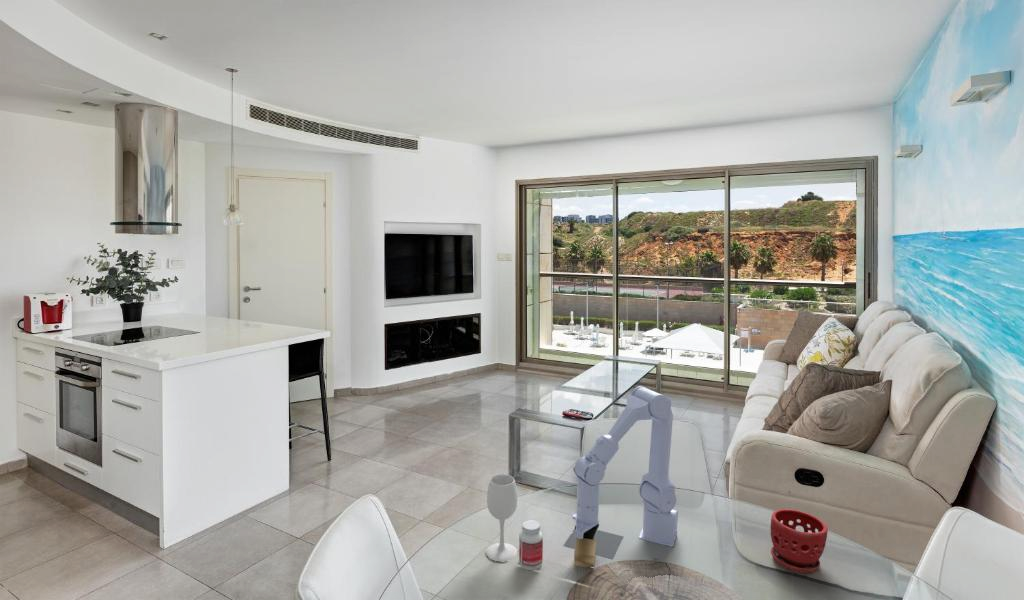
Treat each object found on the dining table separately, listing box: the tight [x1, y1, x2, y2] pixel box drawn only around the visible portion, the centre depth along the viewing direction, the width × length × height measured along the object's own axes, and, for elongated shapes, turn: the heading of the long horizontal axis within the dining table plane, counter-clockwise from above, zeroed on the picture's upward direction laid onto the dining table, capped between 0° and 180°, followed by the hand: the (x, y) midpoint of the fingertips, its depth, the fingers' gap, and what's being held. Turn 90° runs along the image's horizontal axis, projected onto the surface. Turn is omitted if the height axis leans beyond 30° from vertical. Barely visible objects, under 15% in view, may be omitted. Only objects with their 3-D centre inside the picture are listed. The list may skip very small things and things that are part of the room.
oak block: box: [573, 538, 597, 568], centre depth 142 cm, size 5×5×5 cm
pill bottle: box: [518, 519, 544, 571], centre depth 141 cm, size 6×6×11 cm
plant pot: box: [770, 508, 829, 574], centre depth 143 cm, size 13×13×12 cm
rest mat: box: [562, 528, 625, 560], centre depth 152 cm, size 14×12×1 cm
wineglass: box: [485, 473, 518, 562], centre depth 145 cm, size 9×9×21 cm
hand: (586, 550), depth 146 cm, fingers closed
